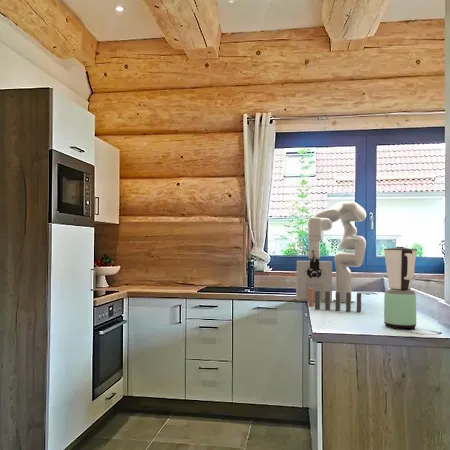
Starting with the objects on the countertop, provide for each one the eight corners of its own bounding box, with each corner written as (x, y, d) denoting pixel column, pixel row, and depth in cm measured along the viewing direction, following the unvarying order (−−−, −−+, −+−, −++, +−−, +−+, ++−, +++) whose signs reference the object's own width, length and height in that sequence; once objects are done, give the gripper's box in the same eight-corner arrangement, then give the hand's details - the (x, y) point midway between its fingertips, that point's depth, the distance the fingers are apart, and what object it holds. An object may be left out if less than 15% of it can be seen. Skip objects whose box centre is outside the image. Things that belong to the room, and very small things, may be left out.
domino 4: (336, 309, 250) (336, 291, 250) (340, 309, 249) (340, 291, 249) (335, 310, 245) (335, 292, 245) (339, 311, 244) (339, 292, 245)
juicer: (376, 324, 205) (377, 246, 207) (405, 324, 207) (405, 247, 208) (396, 332, 187) (396, 246, 188) (427, 332, 188) (427, 247, 189)
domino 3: (326, 309, 252) (326, 290, 252) (330, 309, 251) (330, 291, 251) (325, 310, 247) (325, 291, 247) (328, 310, 246) (329, 291, 247)
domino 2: (316, 308, 253) (316, 290, 254) (319, 308, 253) (320, 290, 253) (314, 309, 249) (315, 291, 249) (318, 309, 248) (318, 291, 248)
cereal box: (330, 300, 292) (330, 261, 293) (331, 301, 284) (332, 261, 285) (296, 299, 294) (296, 260, 295) (296, 300, 286) (297, 261, 287)
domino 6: (357, 311, 246) (357, 292, 246) (361, 311, 245) (361, 292, 246) (356, 312, 241) (356, 293, 242) (360, 312, 241) (360, 293, 241)
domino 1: (309, 305, 267) (310, 288, 267) (313, 305, 266) (313, 288, 266) (308, 306, 262) (308, 288, 262) (312, 306, 261) (312, 288, 262)
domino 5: (346, 310, 248) (347, 291, 248) (350, 310, 247) (350, 292, 248) (346, 311, 243) (346, 292, 244) (349, 311, 242) (350, 292, 243)
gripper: (312, 239, 272) (311, 267, 271) (304, 238, 256) (304, 269, 255) (324, 239, 269) (324, 268, 268) (318, 238, 253) (317, 269, 252)
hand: (314, 268), depth 262 cm, fingers open, 9 cm apart
